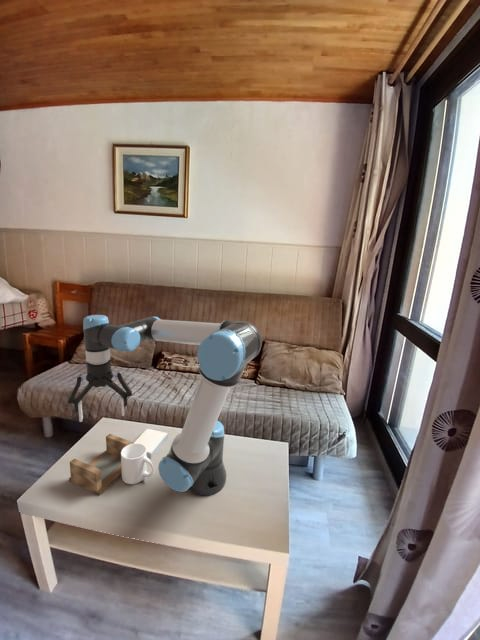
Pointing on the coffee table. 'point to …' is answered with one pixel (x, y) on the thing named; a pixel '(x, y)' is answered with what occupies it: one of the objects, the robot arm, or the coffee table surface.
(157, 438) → the white rectangular block
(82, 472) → the cradle
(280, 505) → the coffee table surface
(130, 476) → the mug
